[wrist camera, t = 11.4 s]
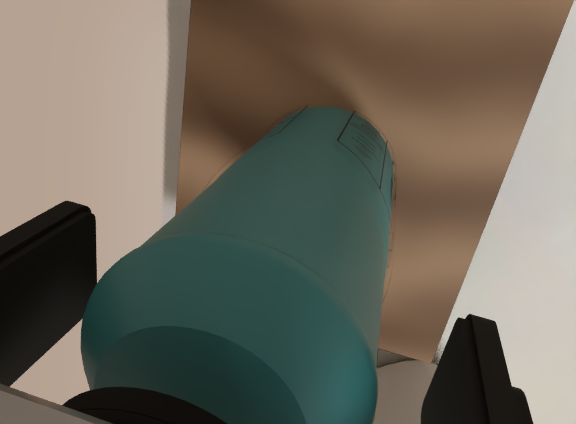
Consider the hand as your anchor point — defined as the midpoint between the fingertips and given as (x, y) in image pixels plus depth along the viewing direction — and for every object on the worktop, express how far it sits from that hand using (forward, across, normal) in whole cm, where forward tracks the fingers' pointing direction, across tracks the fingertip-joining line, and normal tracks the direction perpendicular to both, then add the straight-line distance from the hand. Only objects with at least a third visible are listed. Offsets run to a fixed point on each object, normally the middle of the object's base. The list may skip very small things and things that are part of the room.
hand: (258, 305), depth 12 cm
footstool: (+20, 0, +1) cm, 20 cm away
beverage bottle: (+13, 0, 0) cm, 13 cm away
